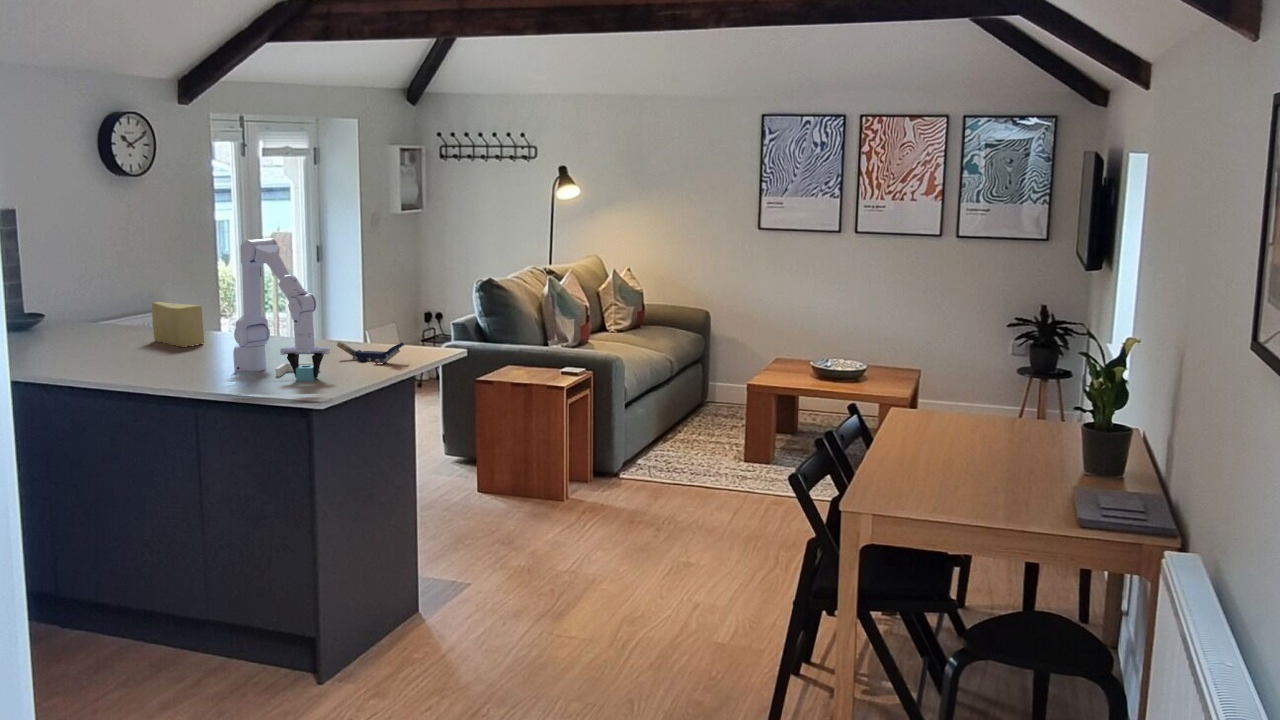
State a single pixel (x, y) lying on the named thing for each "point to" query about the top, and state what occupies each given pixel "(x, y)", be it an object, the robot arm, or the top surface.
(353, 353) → the toy
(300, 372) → the blue square hollow block
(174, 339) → the cheese
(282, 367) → the white u-shaped piece
